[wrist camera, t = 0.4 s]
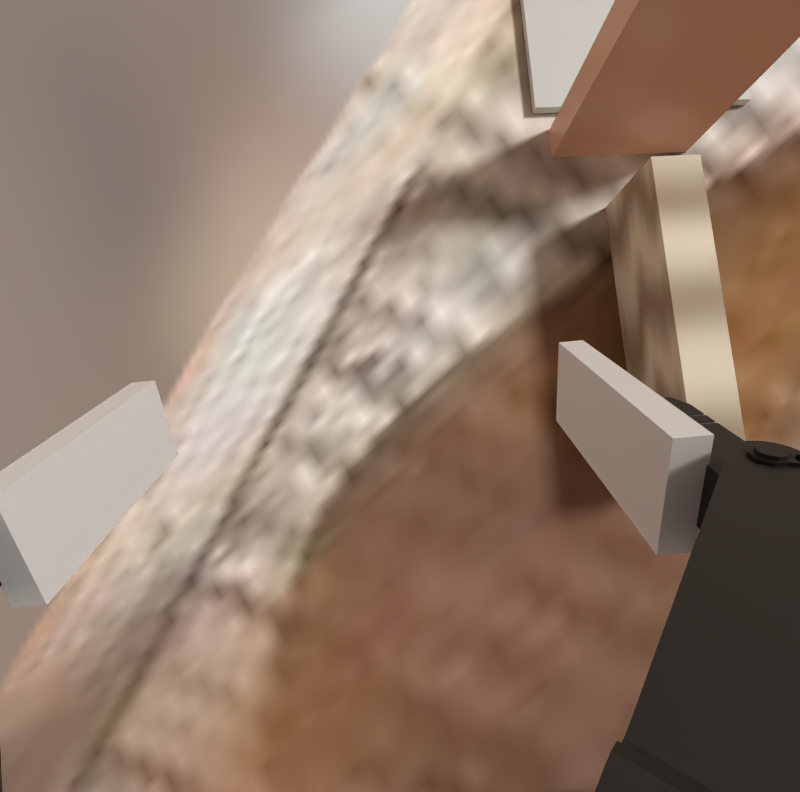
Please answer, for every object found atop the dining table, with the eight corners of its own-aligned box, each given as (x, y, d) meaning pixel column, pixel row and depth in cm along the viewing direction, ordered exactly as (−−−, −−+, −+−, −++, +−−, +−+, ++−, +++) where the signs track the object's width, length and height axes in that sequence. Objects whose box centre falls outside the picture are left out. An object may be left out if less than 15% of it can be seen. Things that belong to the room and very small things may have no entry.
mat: (744, 104, 35) (750, 99, 34) (532, 113, 34) (535, 107, 34) (718, -48, 36) (723, -57, 36) (515, -43, 36) (517, -51, 35)
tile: (685, 152, 34) (845, -10, 22) (551, 157, 34) (641, -4, 22) (681, 123, 35) (836, -52, 23) (547, 128, 34) (634, -47, 22)
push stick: (680, 457, 32) (748, 458, 26) (636, 460, 32) (695, 462, 26) (644, 207, 34) (700, 154, 28) (604, 209, 34) (651, 156, 28)
